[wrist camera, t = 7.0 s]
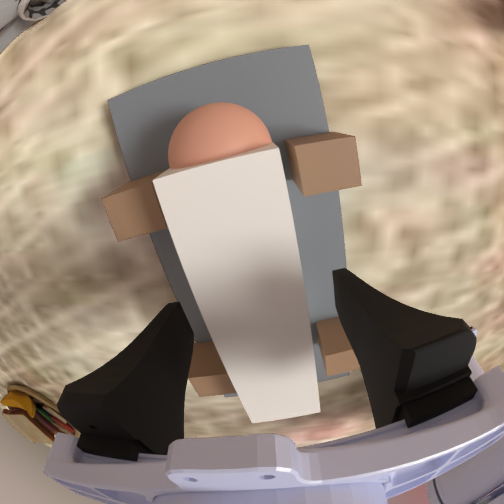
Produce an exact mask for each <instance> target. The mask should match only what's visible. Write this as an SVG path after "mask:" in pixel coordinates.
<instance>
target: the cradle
mask: <svg viewBox="0 0 504 504" xmlns="http://www.w3.org/2000/svg"><path fill="white" fill-rule="evenodd" d="M218 102H226V103H233V104H237V105H240V106H243V107H245V108H247V109H249V110H250V111H251V112H253V113H254V114H255V115H257V116H258V117H259V118H260V119H261V121H262V122H263V123H264V124H265V126H266V128H267V129H268V132H269V134H270V137H271V140H272V142H273V143H274V144H275V145H276V146H277V147H279V151H280V155H281V160H282V165H283V170H284V174H285V179H286V184H287V189H288V194H289V200H290V205H291V210H292V216H293V221H294V226H295V232H296V238H297V243H298V249H299V255H300V261H301V267H302V273H303V279H304V286H305V292H306V299H307V306H308V313H309V320H310V327H311V334H312V342H313V349H314V357H315V366H316V374H317V382H321V381H326V380H330V379H334V378H338V377H342V376H346V375H349V371H353V370H356V369H360V365H359V363H358V360H357V358H356V356H355V353H354V351H353V349H352V347H351V345H350V342H349V340H348V338H347V336H346V334H345V332H344V329H343V327H342V325H341V322H340V319H339V316H338V313H337V310H336V307H335V296H334V285H333V274H332V271H333V270H337V269H341V268H346V255H345V244H344V233H343V223H342V215H341V206H340V198H339V191H338V190H341V189H346V188H352V187H357V186H362V183H361V175H360V167H359V159H358V152H357V146H356V139H355V136H351V135H346V134H342V133H337V132H329V129H328V124H327V119H326V114H325V109H324V104H323V100H322V95H321V91H320V86H319V82H318V78H317V74H316V70H315V66H314V62H313V58H312V54H311V51H310V47H309V45H302V46H293V47H286V48H279V49H272V50H266V51H261V52H255V53H250V54H245V55H241V56H236V57H232V58H227V59H223V60H219V61H215V62H211V63H208V64H204V65H201V66H197V67H194V68H190V69H187V70H184V71H181V72H178V73H175V74H172V75H169V76H166V77H163V78H160V79H157V80H155V81H152V82H149V83H147V84H144V85H142V86H139V87H137V88H134V89H132V90H129V91H127V92H125V93H123V94H120V95H118V96H116V97H114V98H111V99H109V100H108V103H109V107H110V111H111V115H112V119H113V123H114V126H115V130H116V134H117V137H118V141H119V144H120V148H121V151H122V154H123V158H124V161H125V164H126V167H127V170H128V173H129V177H130V180H131V181H130V182H128V183H126V184H124V185H123V186H121V187H120V188H118V189H117V190H115V191H113V192H112V193H110V194H109V195H107V196H106V197H104V198H103V199H102V202H103V204H104V207H105V210H106V212H107V215H108V218H109V220H110V223H111V225H112V228H113V230H114V233H115V235H116V238H117V240H118V242H119V241H122V240H126V239H130V238H133V237H137V236H140V235H144V234H148V233H150V236H151V239H152V241H153V244H154V246H155V249H156V251H157V254H158V256H159V259H160V261H161V264H162V266H163V269H164V271H165V274H166V276H167V278H168V281H169V283H170V285H171V288H172V290H173V292H174V295H175V297H176V299H177V301H178V302H180V304H181V306H182V308H183V310H184V313H185V315H186V317H187V319H188V321H189V323H190V326H191V328H192V330H193V332H194V338H195V340H196V342H197V343H196V344H194V348H193V354H192V359H191V365H190V370H189V375H188V379H189V381H190V382H191V384H192V385H193V387H194V389H195V390H196V392H197V393H198V395H199V396H200V397H201V396H213V395H223V394H224V396H225V397H233V396H238V394H237V392H236V390H235V388H234V386H233V384H232V382H231V379H230V377H229V375H228V373H227V371H226V369H225V367H224V364H223V362H222V360H221V358H220V356H219V353H218V351H217V349H216V347H215V344H214V342H213V340H212V338H211V335H210V333H209V331H208V328H207V326H206V324H205V321H204V319H203V317H202V314H201V312H200V309H199V307H198V305H197V302H196V300H195V297H194V295H193V292H192V290H191V287H190V285H189V282H188V280H187V277H186V274H185V272H184V269H183V267H182V264H181V261H180V259H179V256H178V253H177V251H176V248H175V245H174V242H173V240H172V237H171V234H170V231H169V228H168V225H167V223H166V220H165V217H164V214H163V211H162V208H161V205H160V202H159V199H158V196H157V193H156V190H155V187H154V184H153V179H155V178H156V177H158V176H159V175H160V174H162V173H163V172H165V171H166V170H167V169H169V168H170V166H169V160H168V148H169V143H170V139H171V136H172V134H173V132H174V130H175V128H176V127H177V125H178V124H179V122H180V121H181V120H182V119H183V118H184V117H185V116H186V115H187V114H188V113H190V112H191V111H193V110H194V109H196V108H198V107H200V106H203V105H206V104H211V103H218ZM346 269H347V268H346Z"/></svg>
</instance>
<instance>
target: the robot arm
mask: <svg viewBox="0 0 504 504" xmlns="http://www.w3.org/2000/svg"><path fill="white" fill-rule="evenodd" d="M332 274H333V285H334V296H335V307H336V310H337V313H338V316H339V319H340V322H341V325H342V327H343V329H344V332H345V334H346V336H347V338H348V340H349V342H350V345H351V347H352V349H353V351H354V353H355V356H356V358H357V360H358V363H359V365H360V368H361V372H362V375H363V378H364V382H365V385H366V389H367V392H368V396H369V400H370V404H371V408H372V412H373V417H374V421H375V426H376V429H374V430H371V431H367V432H364V433H360V434H357V435H353V436H349V437H345V438H341V439H337V440H333V441H329V442H324V443H319V444H314V445H309V446H304V447H298V448H296V445H295V443H294V442H293V441H292V440H291V439H290V438H288V437H286V436H282V435H278V434H251V435H240V436H228V437H210V438H185V439H184V401H185V391H186V385H187V380H188V375H189V370H190V365H191V359H192V354H193V345H194V332H193V330H192V328H191V326H190V323H189V321H188V319H187V317H186V315H185V313H184V310H183V308H182V306H181V304H180V302H174V303H168V304H167V305H166V306H165V307H164V308H163V309H162V310H161V311H160V312H159V313H158V315H157V316H156V317H155V318H154V319H153V320H152V321H151V322H150V323H149V325H148V326H147V327H146V328H145V329H144V330H143V331H142V332H141V333H140V334H139V335H138V336H137V337H136V338H135V339H134V340H133V341H132V342H131V343H130V344H129V345H128V346H127V347H126V348H125V349H124V350H123V351H121V352H120V353H119V354H118V355H117V356H115V357H114V358H113V359H111V360H110V361H109V362H107V363H106V364H104V365H103V366H102V367H100V368H98V369H97V370H95V371H94V372H92V373H90V374H88V375H87V376H85V377H83V378H81V379H79V380H77V381H74V382H72V383H70V384H68V385H66V386H65V388H64V390H63V392H62V394H61V397H60V399H59V401H58V403H57V408H58V411H59V412H60V414H61V415H62V416H63V417H64V418H65V419H66V420H67V421H68V422H69V423H70V424H71V425H72V426H73V427H74V428H75V429H77V430H78V431H79V432H80V433H81V434H80V437H79V438H77V437H75V436H73V435H69V434H64V433H60V432H58V433H57V434H56V437H55V439H54V442H53V445H52V447H51V450H50V453H49V456H48V458H47V461H46V464H45V467H44V470H43V472H44V474H46V475H47V476H49V477H50V478H52V479H53V480H55V481H57V482H58V483H60V484H61V485H63V486H65V487H66V488H68V489H70V490H72V491H73V492H75V493H77V494H79V495H82V496H85V497H88V498H91V499H94V500H97V501H100V502H103V503H107V504H388V502H387V499H388V498H391V497H394V496H396V495H399V494H401V493H403V492H406V491H408V490H410V489H413V488H415V487H417V486H419V485H421V484H423V483H426V492H427V496H428V499H429V502H430V504H504V485H502V484H504V372H503V370H502V369H501V368H500V366H496V367H494V368H492V369H491V370H489V371H487V372H485V373H484V371H483V370H482V368H481V367H480V365H479V364H478V362H477V361H476V359H475V358H474V356H473V352H474V350H475V346H476V335H477V329H476V328H472V329H470V327H469V326H468V325H467V324H466V323H465V321H464V320H463V319H459V318H452V317H445V316H440V315H436V314H432V313H428V312H424V311H421V310H418V309H415V308H413V307H410V306H407V305H405V304H403V303H400V302H398V301H396V300H394V299H392V298H390V297H388V296H386V295H385V294H383V293H381V292H379V291H378V290H376V289H374V288H373V287H371V286H370V285H368V284H367V283H365V282H364V281H363V280H361V279H360V278H358V277H357V276H356V275H354V274H353V273H352V272H350V271H349V270H347V269H346V268H341V269H337V270H333V271H332ZM501 485H502V486H501ZM500 486H501V487H500ZM498 487H500V488H498ZM496 488H498V489H497V490H495V489H496ZM493 490H495V491H494V492H492V491H493ZM490 492H492V493H490ZM489 493H490V494H489ZM487 494H489V495H487ZM485 495H487V496H486V497H484V496H485ZM482 497H484V498H482ZM481 498H482V499H481ZM479 499H480V500H479ZM477 500H478V501H477Z"/></svg>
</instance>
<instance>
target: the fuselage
mask: <svg viewBox="0 0 504 504" xmlns="http://www.w3.org/2000/svg"><path fill="white" fill-rule="evenodd" d="M168 160H169V166H170V168H169V169H167V170H166V171H165V172H163V173H162V174H160V175H159V176H158V177H156V178H155V179H153V184H154V187H155V190H156V193H157V196H158V199H159V202H160V205H161V208H162V211H163V214H164V217H165V220H166V223H167V225H168V228H169V231H170V234H171V237H172V240H173V242H174V245H175V248H176V251H177V253H178V256H179V259H180V261H181V264H182V267H183V269H184V272H185V274H186V277H187V280H188V282H189V285H190V287H191V290H192V292H193V295H194V297H195V300H196V302H197V305H198V307H199V309H200V312H201V314H202V317H203V319H204V321H205V324H206V326H207V328H208V331H209V333H210V335H211V338H212V340H213V342H214V344H215V347H216V349H217V351H218V353H219V356H220V358H221V360H222V362H223V364H224V367H225V369H226V371H227V373H228V375H229V377H230V379H231V382H232V384H233V386H234V388H235V390H236V392H237V394H238V396H239V398H240V400H241V402H242V404H243V406H244V408H245V410H246V412H247V414H248V416H249V418H250V420H251V422H252V423H259V422H267V421H274V420H281V419H287V418H293V417H298V416H304V415H309V414H314V413H319V412H320V402H319V392H318V383H317V374H316V366H315V357H314V349H313V342H312V334H311V327H310V320H309V313H308V306H307V299H306V292H305V286H304V279H303V273H302V267H301V261H300V255H299V249H298V243H297V238H296V232H295V226H294V221H293V216H292V210H291V205H290V200H289V194H288V189H287V184H286V179H285V174H284V170H283V165H282V160H281V155H280V151H279V147H277V146H276V145H275V144H274V143H273V142H272V140H271V137H270V134H269V132H268V129H267V128H266V126H265V124H264V123H263V122H262V121H261V119H260V118H259V117H258V116H257V115H255V114H254V113H253V112H251V111H250V110H249V109H247V108H245V107H243V106H240V105H237V104H233V103H226V102H218V103H211V104H206V105H203V106H200V107H198V108H196V109H194V110H193V111H191V112H190V113H188V114H187V115H186V116H185V117H184V118H183V119H182V120H181V121H180V122H179V124H178V125H177V127H176V128H175V130H174V132H173V134H172V136H171V139H170V143H169V148H168Z"/></svg>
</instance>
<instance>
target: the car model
mask: <svg viewBox="0 0 504 504" xmlns="http://www.w3.org/2000/svg"><path fill="white" fill-rule="evenodd" d="M65 1H67V0H0V54H1V52H2V51H3V50H4V49H5V48H6V47H7V46H8V45H9V44H10V43H11V42H12V41H13V40H14V39H15V38H16V37H17V36H18V35H19V34H21V33H22V32H23V31H24V30H26V29H27V28H28V27H30V26H31V25H33V24H34V23H36V22H37V21H39V20H41V19H43V18H45V17H47V16H48V15H49V14H51V12H52V11H53V10H54V9H55V8H57V7H58V6H59V5H61V4H62V3H63V2H65Z"/></svg>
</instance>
